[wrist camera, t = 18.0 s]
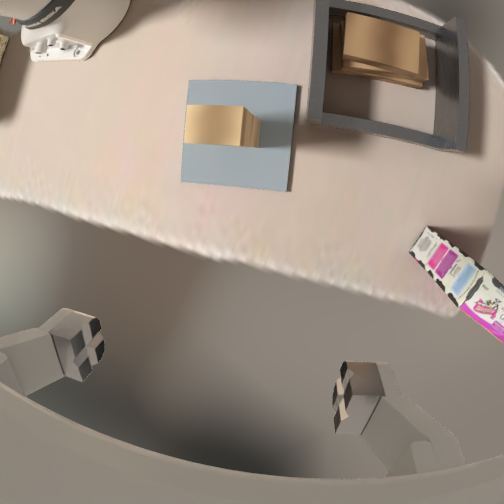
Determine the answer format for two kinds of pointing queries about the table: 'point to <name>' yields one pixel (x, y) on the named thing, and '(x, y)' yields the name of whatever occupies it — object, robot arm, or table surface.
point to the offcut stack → (379, 51)
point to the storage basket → (3, 44)
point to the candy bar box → (462, 280)
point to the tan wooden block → (221, 126)
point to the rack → (447, 78)
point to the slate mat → (244, 158)
